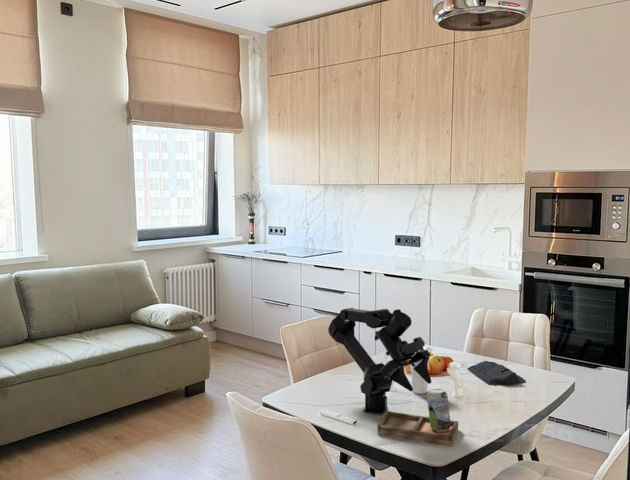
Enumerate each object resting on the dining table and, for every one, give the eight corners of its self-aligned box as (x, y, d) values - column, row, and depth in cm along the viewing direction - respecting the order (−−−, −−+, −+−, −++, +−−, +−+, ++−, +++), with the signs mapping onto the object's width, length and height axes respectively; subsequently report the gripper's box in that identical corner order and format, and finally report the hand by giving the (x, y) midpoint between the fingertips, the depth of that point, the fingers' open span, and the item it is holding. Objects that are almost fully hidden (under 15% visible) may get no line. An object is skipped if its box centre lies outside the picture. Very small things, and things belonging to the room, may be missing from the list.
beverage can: (445, 436, 169) (446, 396, 167) (422, 429, 173) (423, 391, 172) (454, 428, 174) (455, 389, 172) (432, 422, 178) (432, 385, 177)
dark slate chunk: (498, 367, 238) (498, 355, 237) (528, 385, 216) (528, 372, 216) (464, 369, 235) (464, 358, 234) (490, 388, 213) (491, 375, 213)
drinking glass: (424, 396, 204) (425, 355, 203) (407, 392, 208) (407, 352, 206) (431, 390, 210) (432, 350, 209) (414, 387, 214) (414, 347, 212)
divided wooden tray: (377, 434, 174) (377, 425, 173) (388, 419, 185) (388, 411, 184) (451, 446, 165) (451, 437, 165) (458, 430, 176) (458, 421, 176)
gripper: (388, 335, 172) (418, 380, 165) (426, 324, 184) (455, 366, 177) (368, 355, 178) (396, 399, 171) (406, 343, 191) (433, 384, 184)
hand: (421, 386), depth 176 cm, fingers open, 9 cm apart
